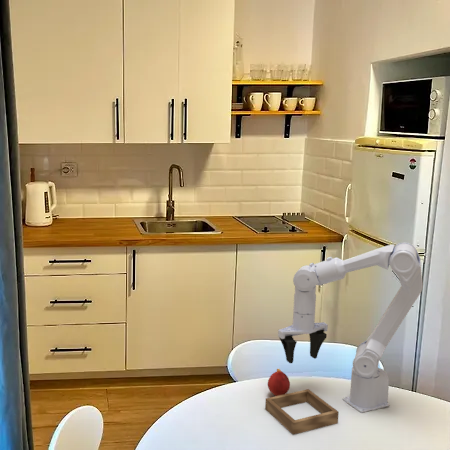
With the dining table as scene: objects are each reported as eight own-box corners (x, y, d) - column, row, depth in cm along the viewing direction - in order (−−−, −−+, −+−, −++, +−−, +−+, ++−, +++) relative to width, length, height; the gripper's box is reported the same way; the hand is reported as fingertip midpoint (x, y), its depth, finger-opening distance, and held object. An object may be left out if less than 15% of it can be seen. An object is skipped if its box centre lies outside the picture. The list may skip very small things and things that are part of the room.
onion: (287, 391, 159) (288, 364, 158) (290, 402, 154) (292, 373, 152) (266, 391, 159) (267, 364, 158) (268, 402, 153) (269, 373, 152)
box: (307, 399, 155) (308, 389, 155) (337, 423, 144) (338, 411, 143) (265, 409, 150) (265, 398, 149) (293, 434, 138) (293, 423, 138)
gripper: (318, 303, 162) (315, 349, 164) (272, 309, 155) (270, 358, 158) (333, 311, 156) (330, 359, 158) (287, 318, 149) (284, 368, 152)
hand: (301, 359), depth 158 cm, fingers open, 7 cm apart
